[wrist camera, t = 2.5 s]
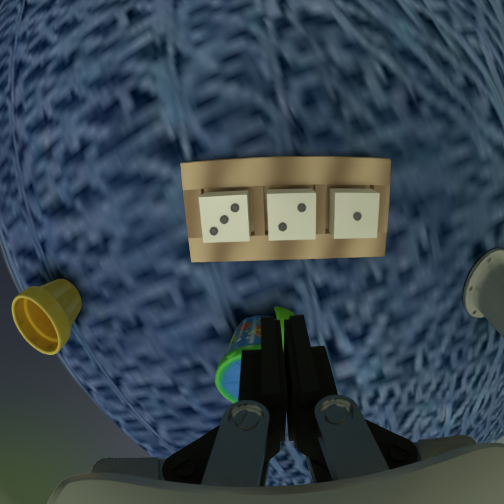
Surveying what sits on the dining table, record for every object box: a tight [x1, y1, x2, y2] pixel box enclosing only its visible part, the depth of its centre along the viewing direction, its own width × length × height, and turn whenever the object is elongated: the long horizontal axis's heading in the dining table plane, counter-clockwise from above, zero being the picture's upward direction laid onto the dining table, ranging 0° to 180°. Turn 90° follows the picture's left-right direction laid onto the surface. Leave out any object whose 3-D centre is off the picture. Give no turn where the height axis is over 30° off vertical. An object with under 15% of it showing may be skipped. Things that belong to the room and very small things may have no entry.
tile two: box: [267, 189, 316, 241], centre depth 31 cm, size 5×5×3 cm
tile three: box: [199, 190, 251, 243], centre depth 32 cm, size 5×5×3 cm
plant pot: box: [12, 279, 82, 355], centre depth 37 cm, size 10×10×10 cm
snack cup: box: [215, 306, 294, 404], centre depth 37 cm, size 16×10×10 cm
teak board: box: [181, 156, 391, 262], centre depth 34 cm, size 24×12×2 cm, turn 93°
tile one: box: [329, 188, 380, 239], centre depth 31 cm, size 5×5×3 cm
